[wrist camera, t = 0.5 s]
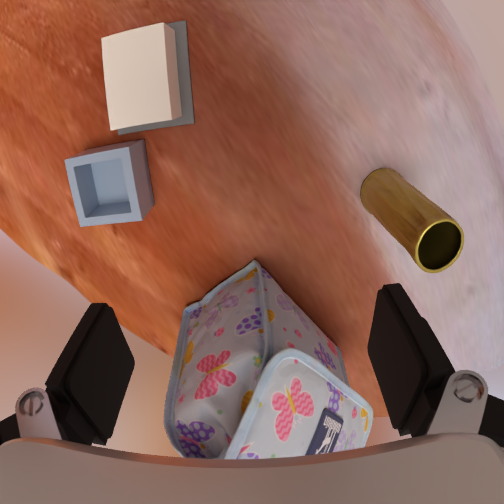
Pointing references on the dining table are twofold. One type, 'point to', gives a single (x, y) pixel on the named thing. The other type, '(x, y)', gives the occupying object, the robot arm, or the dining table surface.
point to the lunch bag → (259, 378)
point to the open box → (111, 183)
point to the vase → (413, 220)
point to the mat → (184, 85)
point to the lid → (141, 76)
